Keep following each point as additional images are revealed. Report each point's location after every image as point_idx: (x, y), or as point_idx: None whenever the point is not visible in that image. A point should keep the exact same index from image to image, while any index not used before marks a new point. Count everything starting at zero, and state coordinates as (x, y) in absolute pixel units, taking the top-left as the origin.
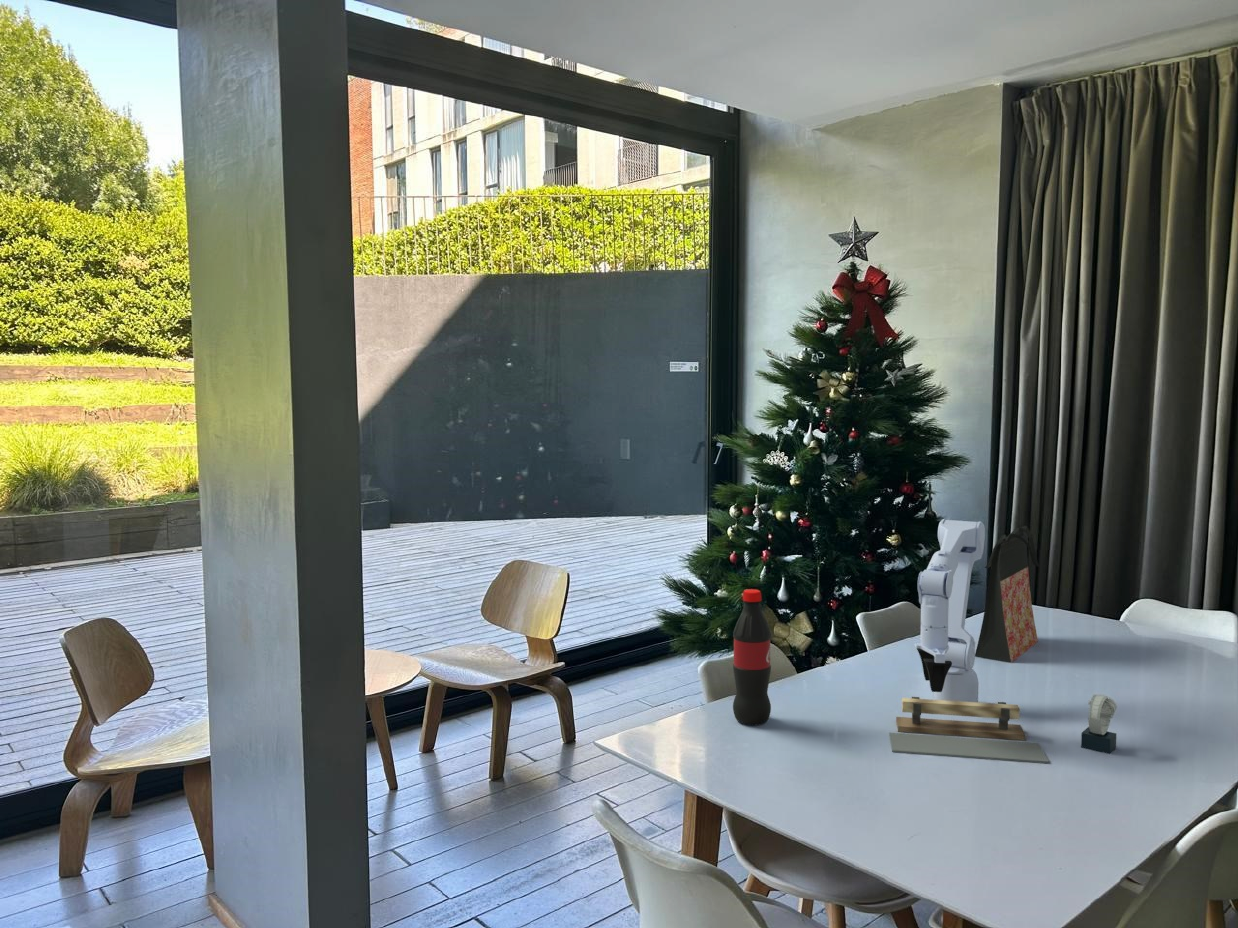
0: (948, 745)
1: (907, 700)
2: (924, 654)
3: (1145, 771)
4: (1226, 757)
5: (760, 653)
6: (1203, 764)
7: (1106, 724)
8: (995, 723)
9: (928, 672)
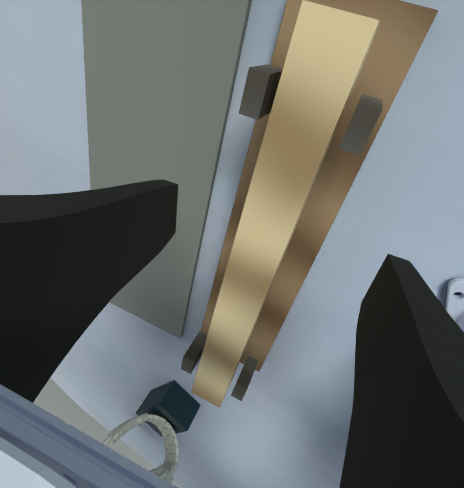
0: (147, 136)
1: (315, 47)
2: (420, 453)
3: (99, 378)
4: (156, 466)
5: None
6: (133, 437)
7: (168, 448)
8: (273, 334)
9: (51, 202)
